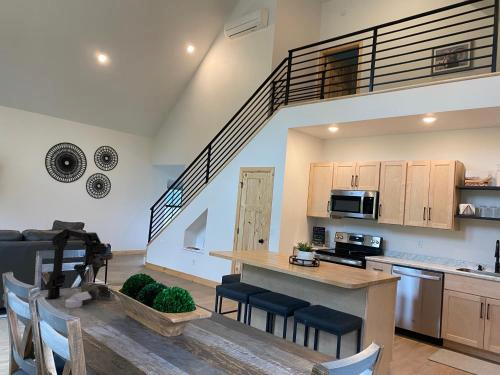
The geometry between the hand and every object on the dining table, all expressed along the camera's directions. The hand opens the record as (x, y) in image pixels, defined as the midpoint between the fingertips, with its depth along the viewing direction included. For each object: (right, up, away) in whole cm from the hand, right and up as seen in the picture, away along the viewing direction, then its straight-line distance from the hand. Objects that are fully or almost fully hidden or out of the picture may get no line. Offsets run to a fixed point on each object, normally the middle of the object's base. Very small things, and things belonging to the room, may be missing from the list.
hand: (88, 279), depth 217 cm
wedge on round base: (-6, -15, -3) cm, 16 cm away
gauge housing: (0, -15, +13) cm, 20 cm away
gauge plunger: (-2, -14, +8) cm, 16 cm away
